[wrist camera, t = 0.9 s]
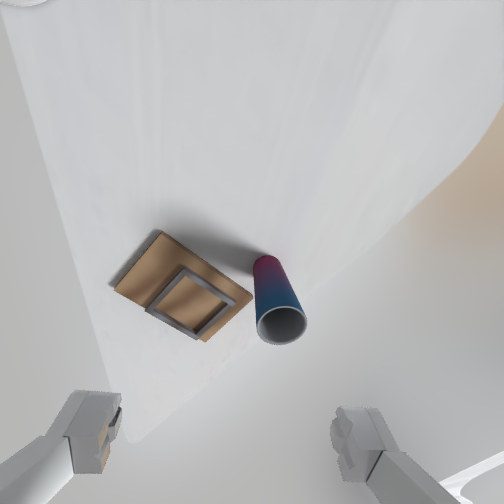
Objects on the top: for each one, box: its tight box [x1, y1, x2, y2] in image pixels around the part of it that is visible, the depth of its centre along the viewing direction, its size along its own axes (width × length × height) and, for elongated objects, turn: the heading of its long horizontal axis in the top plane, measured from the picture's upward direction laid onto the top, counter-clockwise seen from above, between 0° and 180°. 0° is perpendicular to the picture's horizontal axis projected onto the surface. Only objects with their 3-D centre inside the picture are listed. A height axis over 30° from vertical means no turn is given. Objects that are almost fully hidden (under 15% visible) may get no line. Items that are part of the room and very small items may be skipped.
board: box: [114, 231, 253, 342], centre depth 50 cm, size 20×14×2 cm
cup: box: [253, 256, 307, 345], centre depth 44 cm, size 7×7×15 cm
